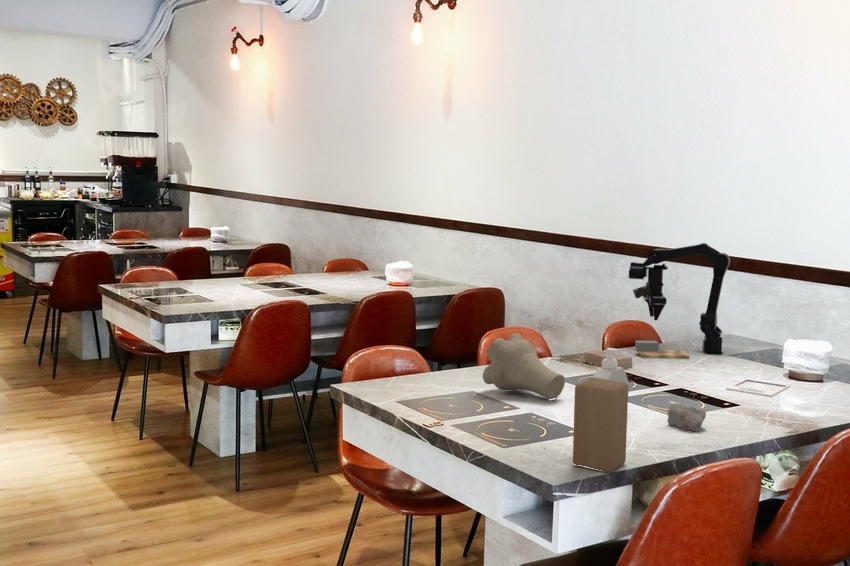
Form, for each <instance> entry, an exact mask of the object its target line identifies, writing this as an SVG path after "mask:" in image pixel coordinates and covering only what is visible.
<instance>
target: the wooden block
mask: <svg viewBox="0 0 850 566" xmlns="http://www.w3.org/2000/svg"><path fill="white" fill-rule="evenodd" d="M628 388H629V383H628V384H626V383H624V382H617V381H611V380H604V379H597V378H592V377H591V378H589V379H587V380H584V381H582V382H580V383H577V384H576V385H575V386H574V407H573V409H574V413H573V439H572V440H573V441H572V443H573V444H572V464H573V463H574V464H576V465H582V466H587V467H590V468H594V469H598V470H602V471H605V472H604V473H607V472H610V473H612V472H614V471H615V470H617V469H618V468H620V467H621V466H623V465H624V464H625V463H626V460H627V459H626V458H627V455H626V454H627V434H628V432H627V429H628V408H629V407H628V403H629V400H628V399H629V394H628ZM622 464H623V465H622ZM619 466H620V467H619ZM617 467H618V468H617ZM616 468H617V469H616ZM613 470H614V471H613ZM602 471H601V472H602Z"/></svg>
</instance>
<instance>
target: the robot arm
mask: <svg viewBox="0 0 850 566" xmlns="http://www.w3.org/2000/svg"><path fill="white" fill-rule="evenodd" d="M699 254H702V255H703V256H704V257H705V258H706V259H708V260H710V261H711V262H713V263H712V270H713V271H712V274H713V276H712V282H711V288H710V292H709V297H708V301H707V306H706V310H705V313H704V312H702V313H701V314H700V321H699V323H698V325H699V330H700V331H701V333H703V334H704V337H703V340H702V352H704V353H705V354H706V355H712V354H713V355H723V354H724V352H723V351H722V349H723V337H722V336H721V335H722V333H723V330H722V329H721V328H720V327H719V326H718V313H717V312H718V306H719V301H720V297H721V292H722V286H723V282H724V278H725V275H726V273H727V270H728V269H729V267H730V264H731V257H730V256H729V255H728V254H727V253H725V252H720V251H718V250H717V249H715V248H713V247H712V246H710V245H709V244H707V243H706V242H702V243H700V244H695V245H688V246H682V247H676V248H656V249H652V250H650V251H649V253H648V255H647V258H646V260H645V261H644V262H633V261H632V262H630V266H629V270H628V278H629V279H630V280H645V278H647V281H646V283H645V285H643V286H640V287H637V288H635V289H632V292H633V295H634V297H635V299H641V297H642V298H643V300H644V301H645V302H646V303H647V307H648V311H649V312H648V313H649V317H650V318H651V317H653V320H654V321H658V319H659V318H660V316H661V313H662V311H663V310H664V309H665V306H666V304H667V298H666V297H665V296H664V293H663V287H664V282H663V277H664V276H663V275H664V270H665V271H666V270H668V269H669V267H668V266H667V265H666V263H663V262H667V261H669V260H671V259H677V258H681V257H689V256H694V255H699ZM660 263H662V264H660ZM651 265H653V266H651Z"/></svg>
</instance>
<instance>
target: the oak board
mask: <svg viewBox="0 0 850 566" xmlns="http://www.w3.org/2000/svg"><path fill="white" fill-rule="evenodd" d="M637 355H639V357H640V359H641V358H642V359H673V360H674V359H677V360H680V359H682V360H683V359H684V360H690V355H689V354H688V353H687V352H686V351H685V350H683V349H658V353H637Z"/></svg>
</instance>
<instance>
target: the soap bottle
mask: <svg viewBox="0 0 850 566" xmlns="http://www.w3.org/2000/svg"><path fill="white" fill-rule="evenodd" d="M620 351H621V349H618V348H612V347H607V348H606V352H607V353H606V358H604V359H603V361H602V367H600V366H599V367H598V368H596V370H595V372H594V374H593V375H592V377H591V378H597V379H604V380H611V381H617V382H624V383H626V384H628V385H629V380H628V376H627V373H626V371H625V369H624V370H623V368H622V367H618V362H617V360H616V359H614V354H615V353H620ZM629 390H630V388H629V387H628V395H629V394H630V393H629Z"/></svg>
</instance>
